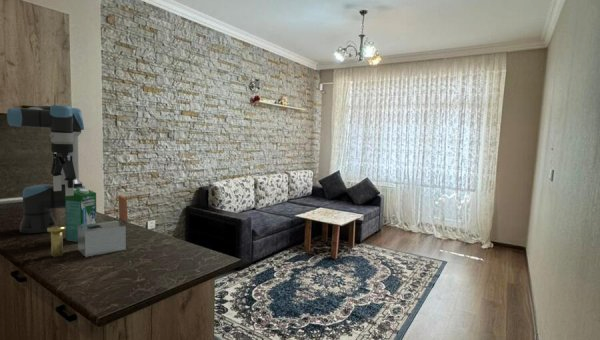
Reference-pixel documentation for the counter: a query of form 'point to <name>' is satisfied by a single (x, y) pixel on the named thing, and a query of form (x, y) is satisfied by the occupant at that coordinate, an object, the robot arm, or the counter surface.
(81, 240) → the block
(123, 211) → the orange tab
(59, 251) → the brass pin
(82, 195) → the milk carton
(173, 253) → the counter surface
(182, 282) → the counter surface
